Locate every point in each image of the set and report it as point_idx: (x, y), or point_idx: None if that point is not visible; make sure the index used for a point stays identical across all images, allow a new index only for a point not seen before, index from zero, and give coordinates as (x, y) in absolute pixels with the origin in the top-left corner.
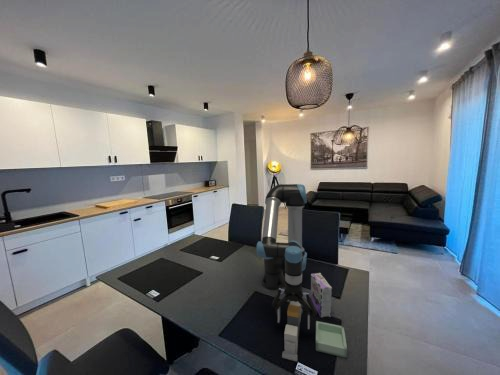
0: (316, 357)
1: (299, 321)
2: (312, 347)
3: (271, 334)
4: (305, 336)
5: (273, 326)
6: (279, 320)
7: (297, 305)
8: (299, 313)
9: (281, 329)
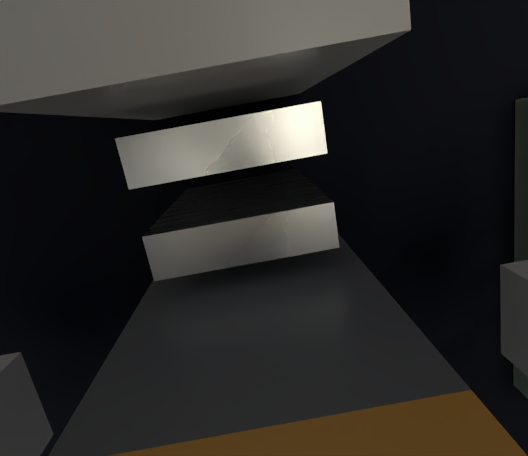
0: (519, 438)
1: (344, 246)
2: (481, 366)
3: (51, 411)
4: (400, 276)
5: (9, 309)
6: (31, 445)
7: (288, 30)
8: (414, 338)
9: (117, 307)
